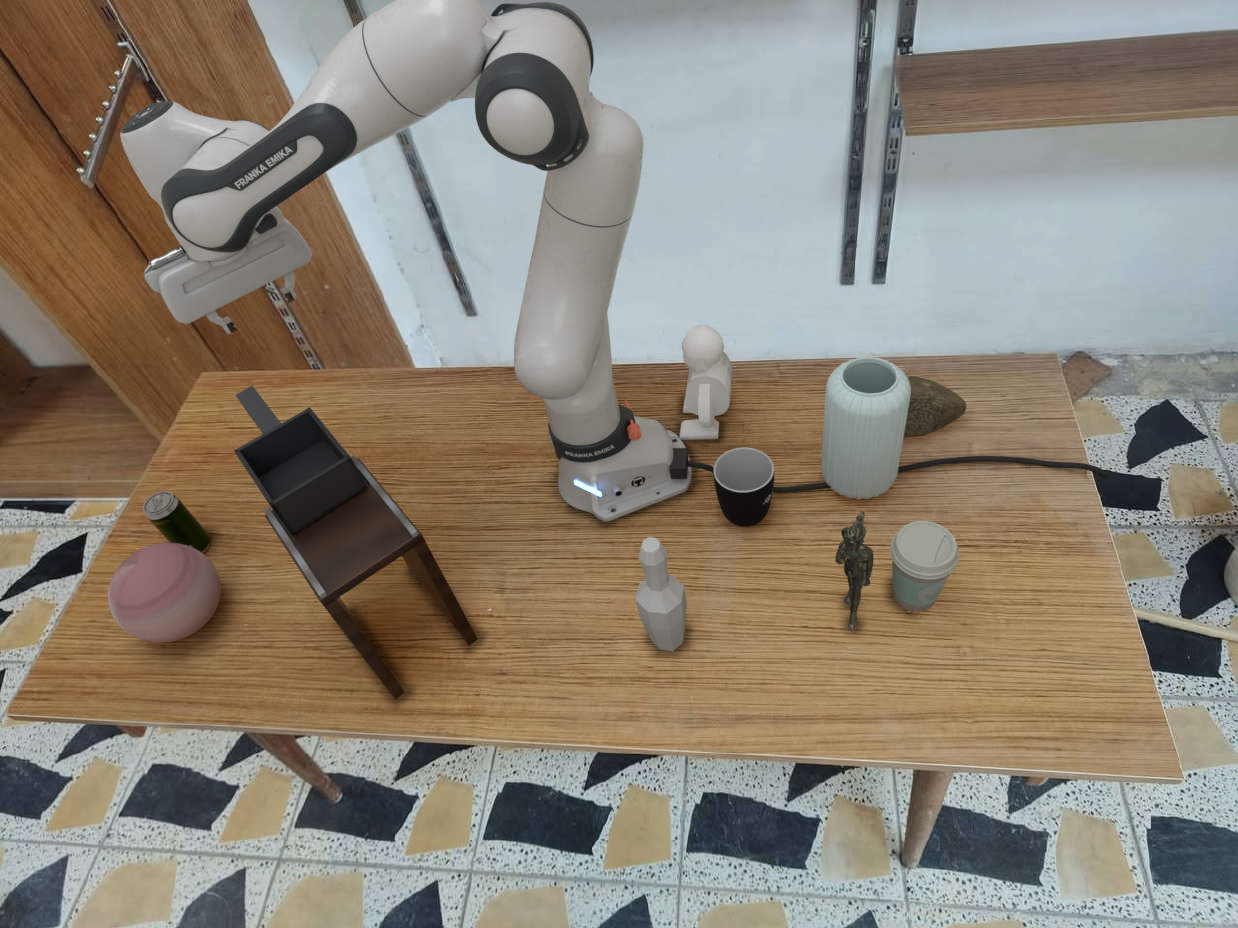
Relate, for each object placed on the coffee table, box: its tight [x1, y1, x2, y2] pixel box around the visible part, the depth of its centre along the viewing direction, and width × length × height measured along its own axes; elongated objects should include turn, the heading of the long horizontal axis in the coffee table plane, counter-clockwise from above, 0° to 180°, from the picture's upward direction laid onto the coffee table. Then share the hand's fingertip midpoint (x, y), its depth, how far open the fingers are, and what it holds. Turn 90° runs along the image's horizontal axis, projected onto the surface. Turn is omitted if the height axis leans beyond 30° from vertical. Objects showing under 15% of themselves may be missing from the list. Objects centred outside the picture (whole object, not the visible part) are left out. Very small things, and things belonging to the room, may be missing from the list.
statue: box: [835, 510, 874, 631], centre depth 106 cm, size 5×6×20 cm
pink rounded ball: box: [107, 542, 222, 644], centre depth 124 cm, size 15×15×15 cm
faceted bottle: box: [635, 536, 688, 652], centre depth 107 cm, size 6×6×22 cm
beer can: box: [142, 490, 212, 554], centre depth 136 cm, size 5×5×12 cm
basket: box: [233, 385, 368, 535], centre depth 110 cm, size 24×11×6 cm, turn 39°
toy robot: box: [678, 324, 733, 441], centre depth 135 cm, size 14×9×20 cm, turn 171°
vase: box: [820, 356, 911, 501], centre depth 121 cm, size 12×12×22 cm
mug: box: [712, 446, 775, 528], centre depth 125 cm, size 12×9×10 cm
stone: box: [904, 375, 968, 438], centre depth 133 cm, size 17×9×8 cm, turn 93°
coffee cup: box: [889, 520, 960, 612], centre depth 110 cm, size 8×8×12 cm
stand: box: [263, 454, 479, 700], centre depth 113 cm, size 18×14×27 cm
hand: (262, 315), depth 118 cm, fingers open, 8 cm apart
